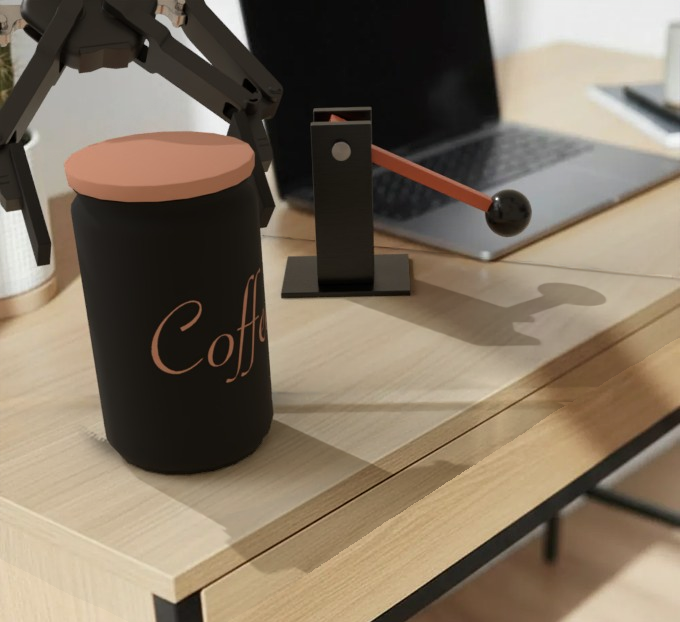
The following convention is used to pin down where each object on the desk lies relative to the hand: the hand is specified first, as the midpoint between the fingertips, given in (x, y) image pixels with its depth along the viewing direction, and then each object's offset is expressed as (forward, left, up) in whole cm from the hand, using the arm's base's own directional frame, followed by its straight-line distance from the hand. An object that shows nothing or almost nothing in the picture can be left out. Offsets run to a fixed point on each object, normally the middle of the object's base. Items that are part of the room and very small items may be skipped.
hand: (158, 236), depth 71 cm
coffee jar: (-1, +1, -13) cm, 13 cm away
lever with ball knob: (-8, -27, -5) cm, 28 cm away
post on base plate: (-2, -25, -13) cm, 28 cm away
